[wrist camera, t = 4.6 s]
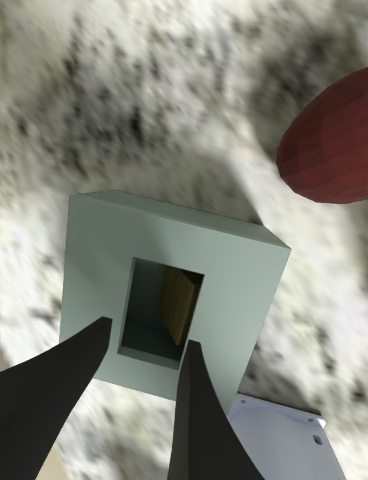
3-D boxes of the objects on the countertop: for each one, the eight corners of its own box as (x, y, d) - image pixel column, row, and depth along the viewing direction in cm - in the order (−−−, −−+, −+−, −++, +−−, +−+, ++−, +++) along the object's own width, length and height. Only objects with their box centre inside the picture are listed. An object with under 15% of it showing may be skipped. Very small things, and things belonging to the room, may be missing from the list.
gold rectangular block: (192, 257, 19) (221, 283, 16) (180, 305, 21) (204, 340, 17) (167, 256, 18) (192, 284, 14) (156, 307, 20) (176, 345, 16)
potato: (394, 176, 16) (495, 174, 11) (282, 216, 18) (317, 233, 12) (375, 71, 15) (479, 3, 9) (254, 125, 17) (279, 97, 11)
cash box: (264, 225, 18) (291, 249, 12) (222, 349, 22) (227, 415, 16) (114, 189, 19) (69, 195, 13) (98, 316, 23) (57, 368, 16)
